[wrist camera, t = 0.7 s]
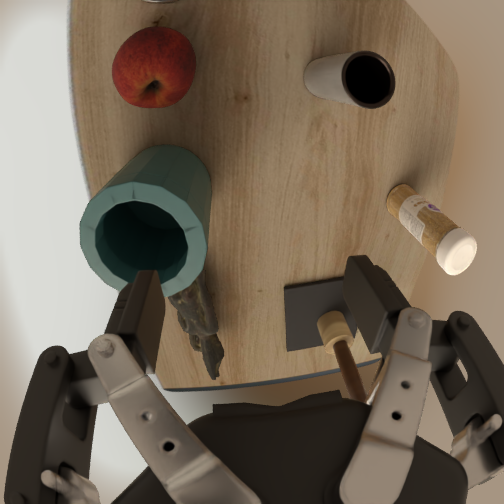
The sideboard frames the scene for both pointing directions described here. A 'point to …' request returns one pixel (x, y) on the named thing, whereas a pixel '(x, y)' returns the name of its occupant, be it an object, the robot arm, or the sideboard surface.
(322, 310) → the mat
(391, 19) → the sideboard surface
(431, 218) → the spice bottle
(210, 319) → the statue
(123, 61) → the apple
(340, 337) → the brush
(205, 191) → the jar
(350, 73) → the grey hollow cylinder
